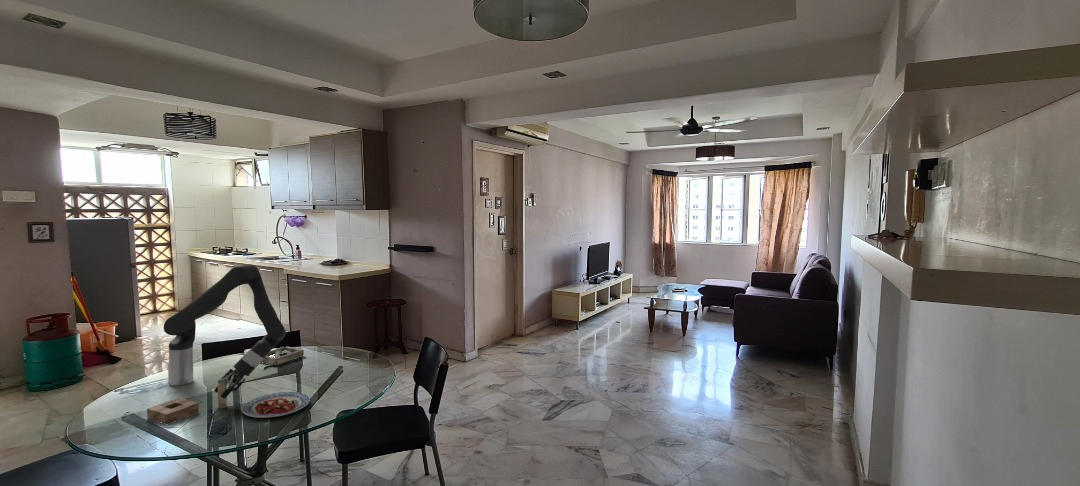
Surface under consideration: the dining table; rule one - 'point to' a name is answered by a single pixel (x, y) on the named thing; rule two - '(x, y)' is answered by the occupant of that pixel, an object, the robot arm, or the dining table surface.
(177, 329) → the robot arm
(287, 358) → the figure corral
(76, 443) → the dining table surface
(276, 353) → the soldier figure
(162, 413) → the socket block
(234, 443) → the dining table surface
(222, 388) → the dowel
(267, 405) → the ceramic plate
